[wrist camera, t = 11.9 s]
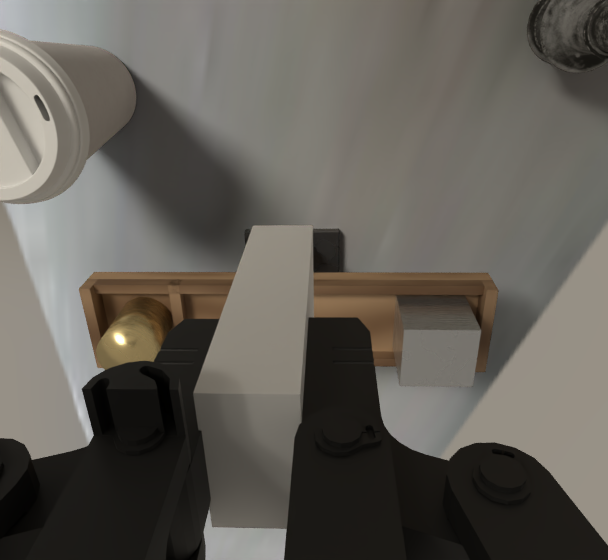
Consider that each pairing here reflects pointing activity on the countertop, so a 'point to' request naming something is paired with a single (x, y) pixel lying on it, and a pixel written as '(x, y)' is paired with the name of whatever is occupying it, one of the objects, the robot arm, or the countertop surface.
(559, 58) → the salt shaker
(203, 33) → the countertop surface
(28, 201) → the coffee cup
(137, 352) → the cylinder
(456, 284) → the wooden tray
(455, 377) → the block
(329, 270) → the fulcrum
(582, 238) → the countertop surface
